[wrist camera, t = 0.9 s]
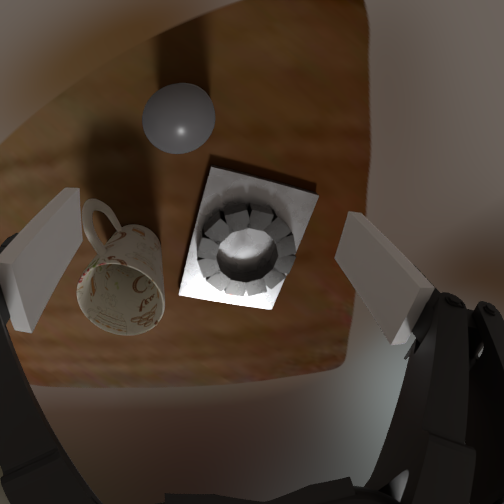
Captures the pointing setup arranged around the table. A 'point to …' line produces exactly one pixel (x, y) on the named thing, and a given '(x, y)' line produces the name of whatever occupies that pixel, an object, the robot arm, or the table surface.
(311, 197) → the mount
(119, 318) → the mug
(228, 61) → the table surface
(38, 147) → the table surface
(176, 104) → the lens
